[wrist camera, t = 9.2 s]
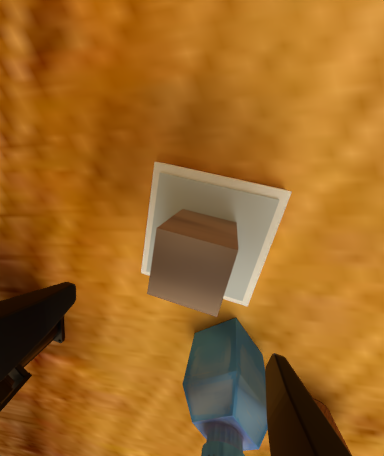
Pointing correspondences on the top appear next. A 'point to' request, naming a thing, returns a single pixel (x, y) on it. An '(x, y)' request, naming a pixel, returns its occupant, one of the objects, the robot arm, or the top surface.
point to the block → (193, 260)
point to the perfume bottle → (226, 389)
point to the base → (221, 208)
